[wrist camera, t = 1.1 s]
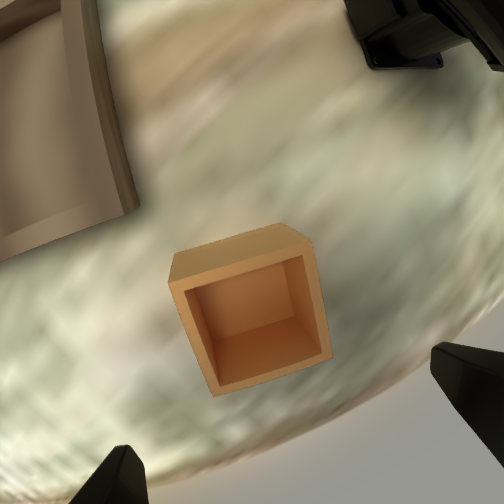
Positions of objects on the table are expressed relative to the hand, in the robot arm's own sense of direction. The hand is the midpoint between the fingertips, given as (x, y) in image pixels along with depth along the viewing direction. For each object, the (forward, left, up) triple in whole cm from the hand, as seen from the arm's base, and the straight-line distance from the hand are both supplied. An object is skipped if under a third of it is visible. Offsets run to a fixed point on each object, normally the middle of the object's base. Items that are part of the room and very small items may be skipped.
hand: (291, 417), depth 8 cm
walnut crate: (+11, -13, -11) cm, 20 cm away
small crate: (0, 0, -11) cm, 11 cm away
